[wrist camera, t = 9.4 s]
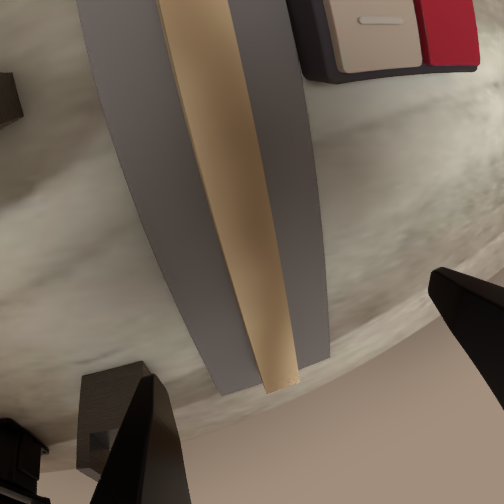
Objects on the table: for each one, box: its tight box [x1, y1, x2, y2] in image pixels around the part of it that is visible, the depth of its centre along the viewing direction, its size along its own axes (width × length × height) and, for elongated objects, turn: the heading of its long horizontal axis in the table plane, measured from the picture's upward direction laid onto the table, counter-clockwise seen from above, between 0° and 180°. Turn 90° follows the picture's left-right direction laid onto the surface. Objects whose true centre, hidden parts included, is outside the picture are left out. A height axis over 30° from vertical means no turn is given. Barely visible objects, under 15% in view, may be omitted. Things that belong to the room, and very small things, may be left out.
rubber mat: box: [76, 0, 330, 396], centre depth 16 cm, size 9×28×1 cm, turn 12°
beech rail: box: [156, 0, 300, 394], centre depth 15 cm, size 2×24×2 cm, turn 12°
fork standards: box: [0, 73, 151, 482], centre depth 12 cm, size 5×21×8 cm, turn 12°
